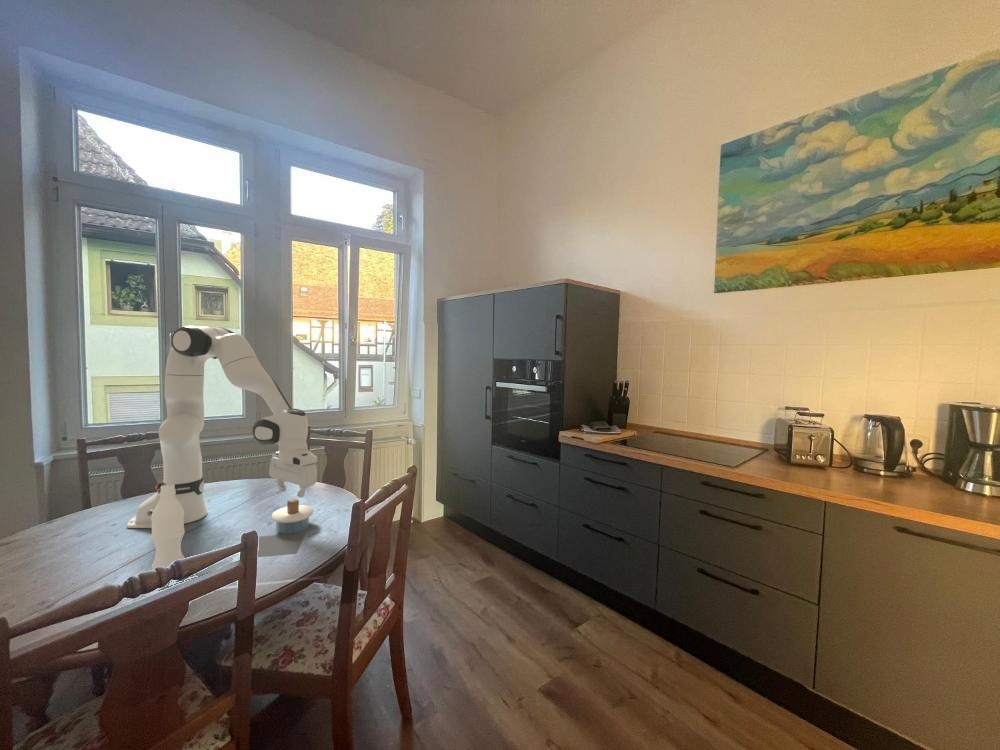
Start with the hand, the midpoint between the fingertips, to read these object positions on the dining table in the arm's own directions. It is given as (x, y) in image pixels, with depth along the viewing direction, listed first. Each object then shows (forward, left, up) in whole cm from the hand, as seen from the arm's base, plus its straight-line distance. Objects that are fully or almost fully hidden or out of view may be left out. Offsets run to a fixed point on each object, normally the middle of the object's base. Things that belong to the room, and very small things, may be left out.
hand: (291, 493), depth 141 cm
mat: (-1, -12, -13) cm, 18 cm away
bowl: (+1, 0, -13) cm, 13 cm away
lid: (+1, 0, -8) cm, 8 cm away
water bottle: (-26, -23, -13) cm, 37 cm away
